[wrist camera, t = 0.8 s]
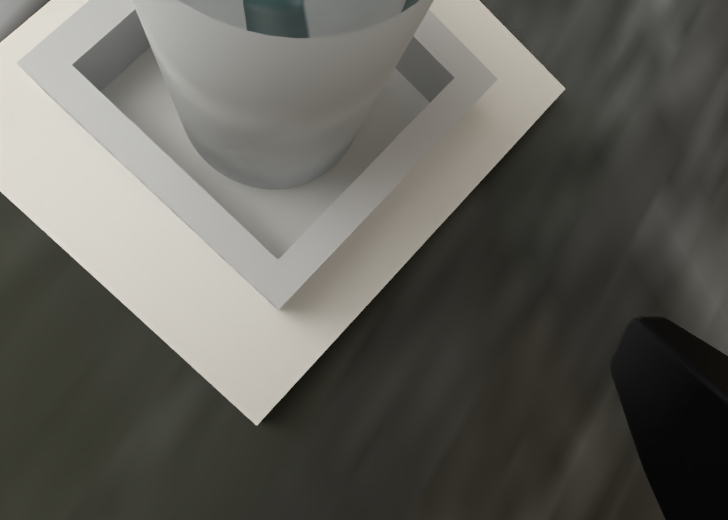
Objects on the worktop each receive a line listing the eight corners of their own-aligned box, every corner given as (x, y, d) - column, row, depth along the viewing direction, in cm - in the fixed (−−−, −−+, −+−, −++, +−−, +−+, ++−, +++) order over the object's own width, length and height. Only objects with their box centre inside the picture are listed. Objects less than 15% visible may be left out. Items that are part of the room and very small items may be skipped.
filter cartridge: (274, 226, 20) (305, 81, 7) (137, 96, 19) (-91, -307, 7) (395, 103, 21) (613, -217, 8) (268, -23, 20) (287, -569, 8)
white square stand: (256, 420, 20) (256, 443, 17) (-67, 123, 19) (-137, 84, 16) (552, 98, 23) (604, 61, 20) (283, -176, 22) (289, -265, 19)
